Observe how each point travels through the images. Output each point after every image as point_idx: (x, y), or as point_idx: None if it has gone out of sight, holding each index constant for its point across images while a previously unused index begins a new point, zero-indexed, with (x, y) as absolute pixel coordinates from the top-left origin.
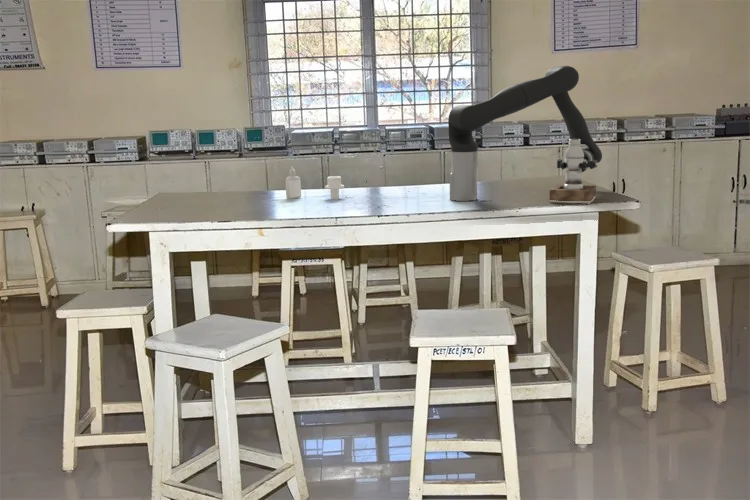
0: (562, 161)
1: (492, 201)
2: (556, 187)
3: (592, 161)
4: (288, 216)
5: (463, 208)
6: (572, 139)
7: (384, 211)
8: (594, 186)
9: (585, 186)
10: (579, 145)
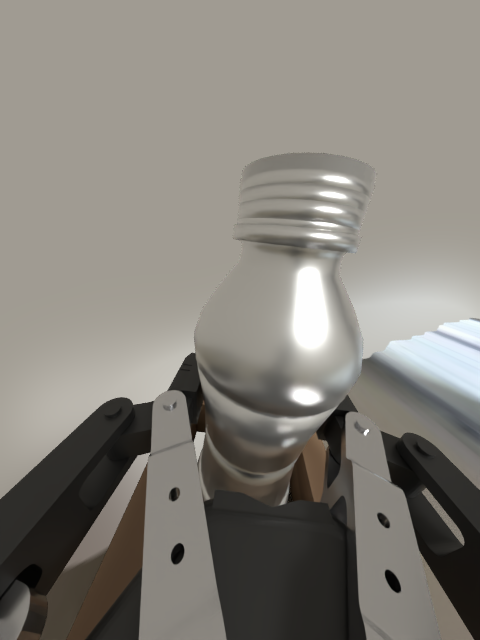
0: (363, 416)
1: (450, 434)
2: (317, 468)
3: (106, 410)
4: (468, 321)
5: (391, 354)
6: (358, 178)
7: (442, 337)
8: (103, 571)
9: None
10: (241, 251)
